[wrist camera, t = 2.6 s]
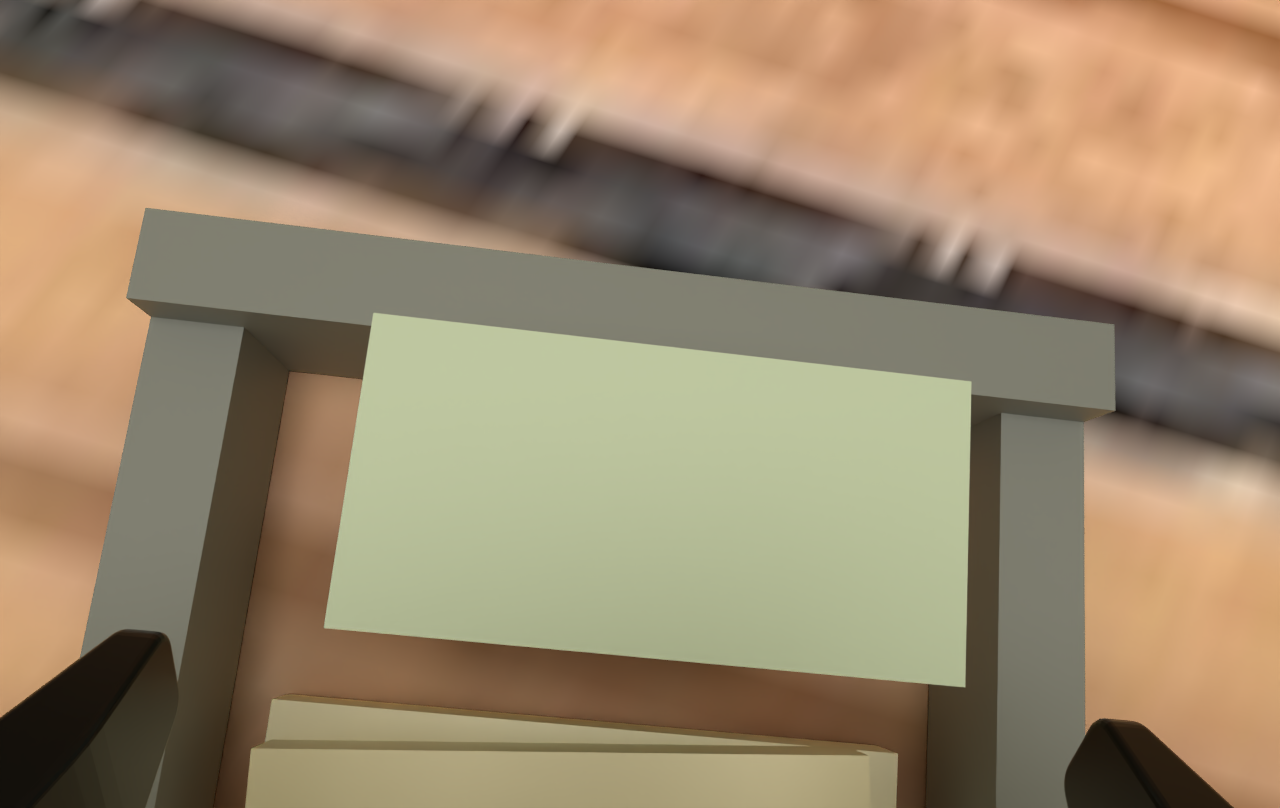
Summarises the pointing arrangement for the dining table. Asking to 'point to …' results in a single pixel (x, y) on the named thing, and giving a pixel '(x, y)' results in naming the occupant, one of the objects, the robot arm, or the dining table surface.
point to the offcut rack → (605, 309)
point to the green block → (655, 503)
